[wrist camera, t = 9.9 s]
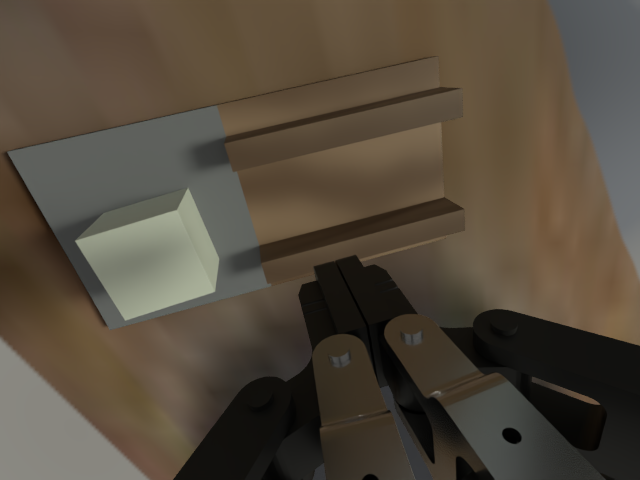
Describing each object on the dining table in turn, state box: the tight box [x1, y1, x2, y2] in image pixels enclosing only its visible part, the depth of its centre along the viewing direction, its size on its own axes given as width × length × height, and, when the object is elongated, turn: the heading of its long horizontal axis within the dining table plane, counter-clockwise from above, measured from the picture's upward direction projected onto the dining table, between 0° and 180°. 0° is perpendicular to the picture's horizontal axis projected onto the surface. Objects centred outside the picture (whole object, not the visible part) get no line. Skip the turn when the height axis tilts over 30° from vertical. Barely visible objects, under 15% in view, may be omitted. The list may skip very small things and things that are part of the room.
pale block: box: [75, 188, 219, 321], centre depth 20 cm, size 5×5×4 cm
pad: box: [7, 105, 271, 330], centre depth 22 cm, size 12×11×1 cm
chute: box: [217, 56, 465, 286], centre depth 22 cm, size 12×13×3 cm
